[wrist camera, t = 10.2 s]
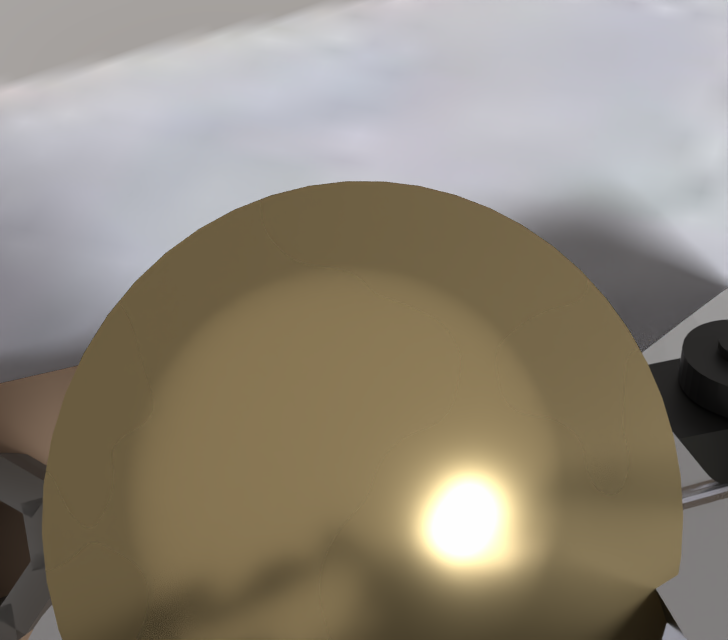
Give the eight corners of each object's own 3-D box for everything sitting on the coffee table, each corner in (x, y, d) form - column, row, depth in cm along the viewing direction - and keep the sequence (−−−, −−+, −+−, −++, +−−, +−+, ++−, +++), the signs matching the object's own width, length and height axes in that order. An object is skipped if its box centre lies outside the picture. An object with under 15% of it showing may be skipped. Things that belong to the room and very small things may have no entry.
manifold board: (-93, 739, 19) (-181, 808, 15) (-134, 423, 21) (-223, 414, 17) (417, 568, 23) (451, 589, 19) (347, 311, 25) (365, 284, 21)
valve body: (221, 604, 13) (118, 993, 4) (176, 395, 14) (-11, 245, 4) (423, 539, 14) (772, 705, 4) (369, 347, 15) (569, 137, 5)
